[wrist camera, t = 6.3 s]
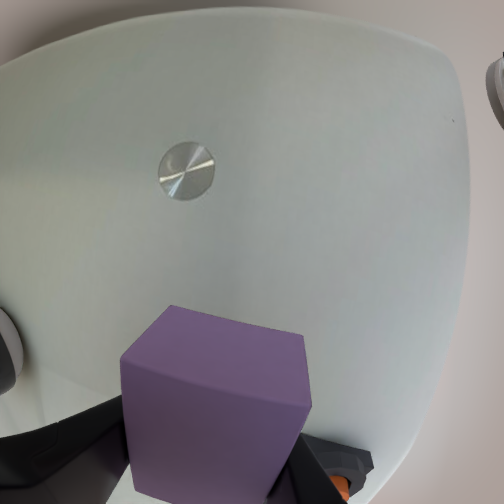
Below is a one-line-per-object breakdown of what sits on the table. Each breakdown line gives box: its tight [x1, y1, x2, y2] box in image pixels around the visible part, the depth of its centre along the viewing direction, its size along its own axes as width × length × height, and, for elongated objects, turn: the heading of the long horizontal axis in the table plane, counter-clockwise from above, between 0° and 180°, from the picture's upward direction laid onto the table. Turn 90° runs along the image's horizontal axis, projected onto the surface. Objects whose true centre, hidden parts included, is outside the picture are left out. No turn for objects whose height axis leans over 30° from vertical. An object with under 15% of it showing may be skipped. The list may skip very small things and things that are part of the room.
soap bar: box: [120, 305, 312, 504], centre depth 7 cm, size 6×4×3 cm, turn 169°
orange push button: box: [329, 475, 349, 502], centre depth 16 cm, size 4×4×2 cm
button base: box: [263, 434, 374, 504], centre depth 20 cm, size 18×8×4 cm, turn 154°
